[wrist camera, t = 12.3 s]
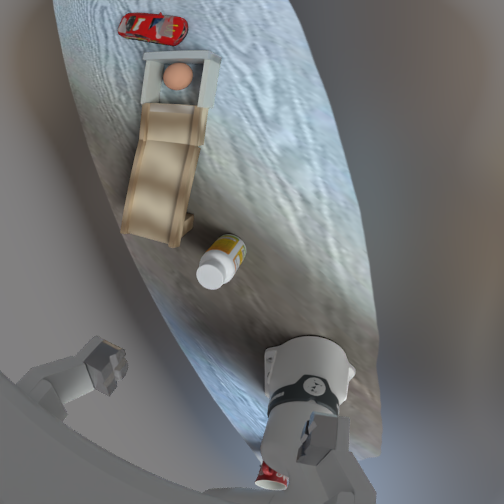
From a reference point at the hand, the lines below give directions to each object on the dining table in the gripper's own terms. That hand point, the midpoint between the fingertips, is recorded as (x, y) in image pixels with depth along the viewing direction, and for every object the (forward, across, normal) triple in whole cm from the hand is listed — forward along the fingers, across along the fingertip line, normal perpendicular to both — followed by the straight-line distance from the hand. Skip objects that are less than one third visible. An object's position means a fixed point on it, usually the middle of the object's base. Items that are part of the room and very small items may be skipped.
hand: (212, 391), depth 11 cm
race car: (+36, +27, -23) cm, 51 cm away
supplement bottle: (+35, +9, +12) cm, 38 cm away
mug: (+35, -12, +71) cm, 81 cm away
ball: (+33, +20, -14) cm, 41 cm away
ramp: (+35, +20, 0) cm, 40 cm away
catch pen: (+35, +20, -14) cm, 43 cm away
